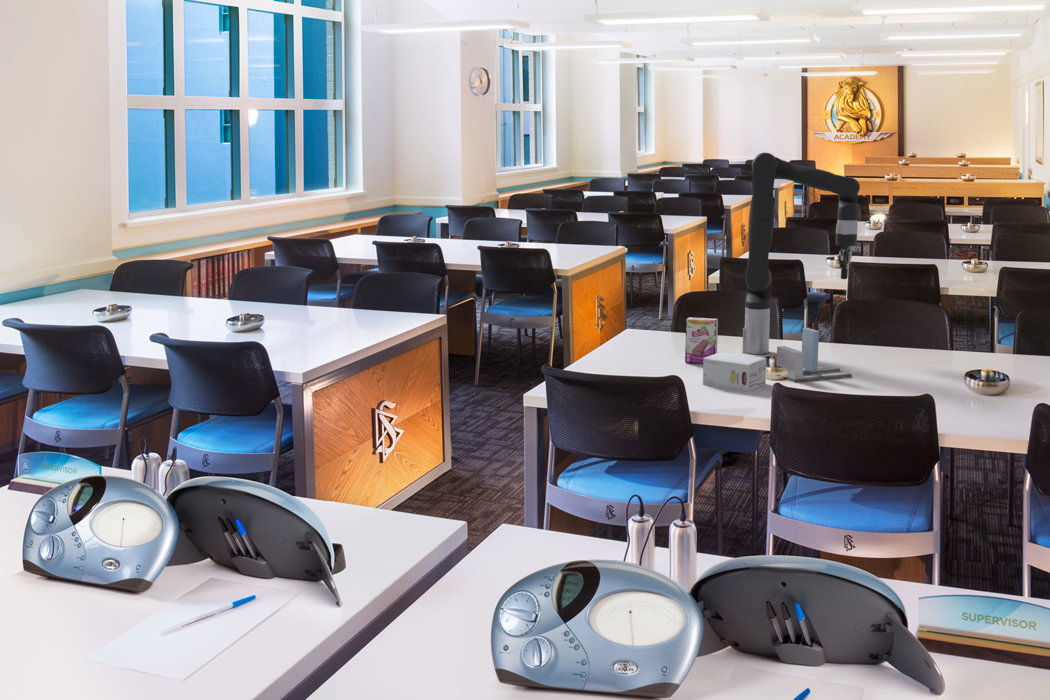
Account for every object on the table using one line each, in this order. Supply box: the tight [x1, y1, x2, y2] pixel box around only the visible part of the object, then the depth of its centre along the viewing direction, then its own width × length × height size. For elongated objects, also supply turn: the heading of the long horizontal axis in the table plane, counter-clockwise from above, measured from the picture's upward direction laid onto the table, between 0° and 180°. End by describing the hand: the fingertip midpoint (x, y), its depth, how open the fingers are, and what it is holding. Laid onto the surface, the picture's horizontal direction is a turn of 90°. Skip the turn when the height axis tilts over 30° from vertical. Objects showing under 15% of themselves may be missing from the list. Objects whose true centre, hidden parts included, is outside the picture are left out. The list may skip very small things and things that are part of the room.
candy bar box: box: [684, 316, 719, 365], centre depth 373 cm, size 11×5×16 cm, turn 71°
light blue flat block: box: [801, 327, 821, 375], centre depth 348 cm, size 2×10×14 cm, turn 17°
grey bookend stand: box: [776, 345, 853, 383], centre depth 350 cm, size 22×12×10 cm, turn 107°
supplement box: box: [702, 351, 767, 392], centre depth 340 cm, size 17×13×9 cm
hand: (844, 278), depth 379 cm, fingers closed
